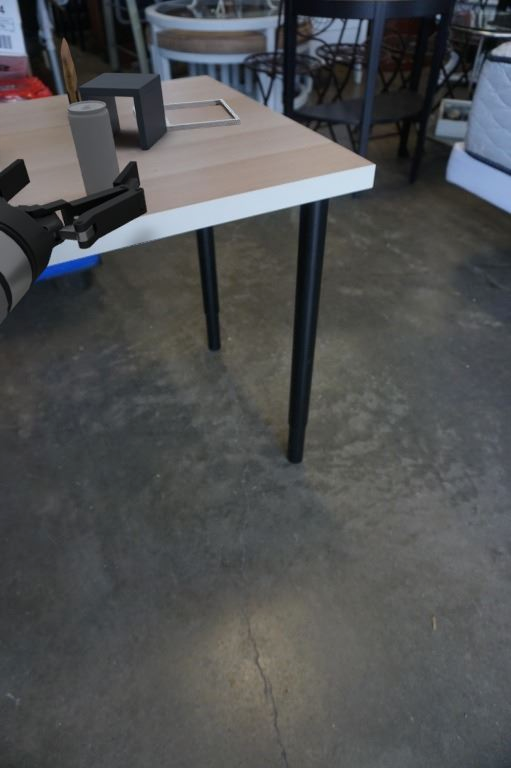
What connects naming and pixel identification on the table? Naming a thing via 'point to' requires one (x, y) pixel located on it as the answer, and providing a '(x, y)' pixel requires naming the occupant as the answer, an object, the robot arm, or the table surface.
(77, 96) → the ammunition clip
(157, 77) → the shelf
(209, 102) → the photo frame
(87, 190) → the beverage can
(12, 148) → the table surface
